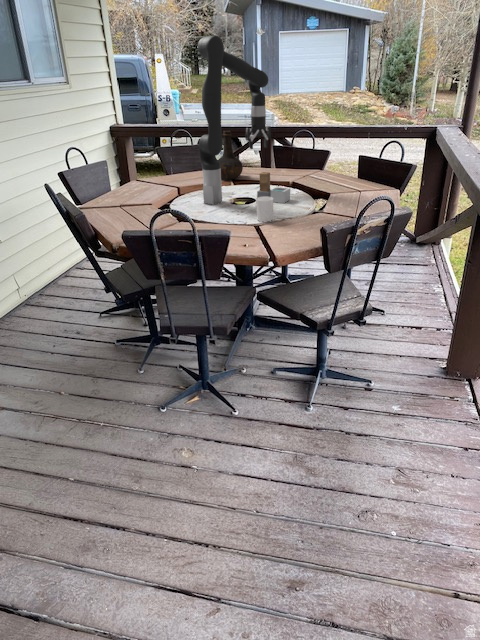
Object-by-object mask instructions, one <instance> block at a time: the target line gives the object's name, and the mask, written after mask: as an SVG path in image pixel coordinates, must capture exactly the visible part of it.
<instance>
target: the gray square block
mask: <svg viewBox="0 0 480 640" xmlns="http://www.w3.org/2000/svg"><path fill="white" fill-rule="evenodd" d="M271 190H272V189H270V190H269V191H267V192H263V191H260V189H259V190H258V191H256V198H258V197H263V196H267V197H271Z"/></svg>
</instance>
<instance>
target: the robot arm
mask: <svg viewBox="0 0 480 640" xmlns="http://www.w3.org/2000/svg"><path fill="white" fill-rule="evenodd" d="M224 49H225V48H224V42H223V40H222V38H221V37H220V36H218V35H207V36H203V37H201V38H200V39H199V41H198V43H197V50H198V53H199V55H200V56H201V57H203V58H204V59H206V60H207V74H206V77H205V79H204V82H203V85H202V90H201V106H202V110H203V113H204V116H205V118H206V120H207V122H206V123H207V126H208V127H207V129H208V130H207V131H208V132H207V133H208V134H203V135H201V136H200V138H199V141H198V154H199V161H200V162H199V163H200V164H201V168H202V179H203V180H202V182H203V185H202V191H203V193H202V194H203V195H202V197H203V204H204V203H208V204H207V205H211V204H214V205H219V204H222V203H223V188H222V179H221V166H220V162H219V161H218V159H217V157H216V156H218V155H219V154H220V153H221V152H222V150H223V146H224V141H223V135H222V134H223V129H222V80H223V79H222V78H223V77H222V75H223V68H225V69H227V70H229V71H231V72H232V73H234V74H235V75H237V76H238V77H239V78H241V79H243V80H244V81H248V88H249V92H250V96H251V108H250V119H251V120H250V125H251V128H249V127H246V128H245V136H244V137H245V141H247V142H248V148H249V149H251V150H252V149H254V139H255V138H256V137H262V138H263V148H266V149H267V148H268V145H269V140H270V139H272V127H271V126H269V125H267V126H266V123H267V121H266V117H267V116H266V115H267V114H266V113H267V112H266V111H267V109H266V94H265V93H263V92H262V90H261V88H265V87H266V86H268V84H269V77H268V75H267V73H266V72H264V71H263V70H262V69H259V68H257V67H255V66H253V65H251V64H250V63H248V62H247V61H245V60H243V59H242V58H240V57H238V56H235V55H233V54H230V53H229V52H227V51H225V50H224ZM221 202H222V203H221ZM218 203H219V204H218Z"/></svg>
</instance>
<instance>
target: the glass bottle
mask: <svg viewBox="0 0 480 640" xmlns="http://www.w3.org/2000/svg"><path fill="white" fill-rule="evenodd" d="M222 136H223V148H222V150H223V151H222V152H223V153H222V156H221V157H219V158H218V159H217V160H218V161H219V162H220V166H221V180H225V181H226V180H227V181H229V180H231V181H232V180H235V179H238V178H239V177H240V176H241V175H242V173H243V169H244V167H243V163H242V161H241V160H240V159H238V158H237V157H236V156H235V155H234V151H233V144H232V137H231V136H233V134H232V132H231V130H222Z"/></svg>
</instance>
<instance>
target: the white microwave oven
mask: <svg viewBox="0 0 480 640" xmlns="http://www.w3.org/2000/svg"><path fill="white" fill-rule="evenodd" d="M270 190H271V197H272V198H273V203H275V202H278V203H277V204H286V203H288V202H289V201H291V188H289V187H281V186H280V187H279V186H276V187H273V188H272V189H270ZM288 200H289V201H288ZM287 201H288V202H287ZM285 202H286V203H285Z"/></svg>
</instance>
